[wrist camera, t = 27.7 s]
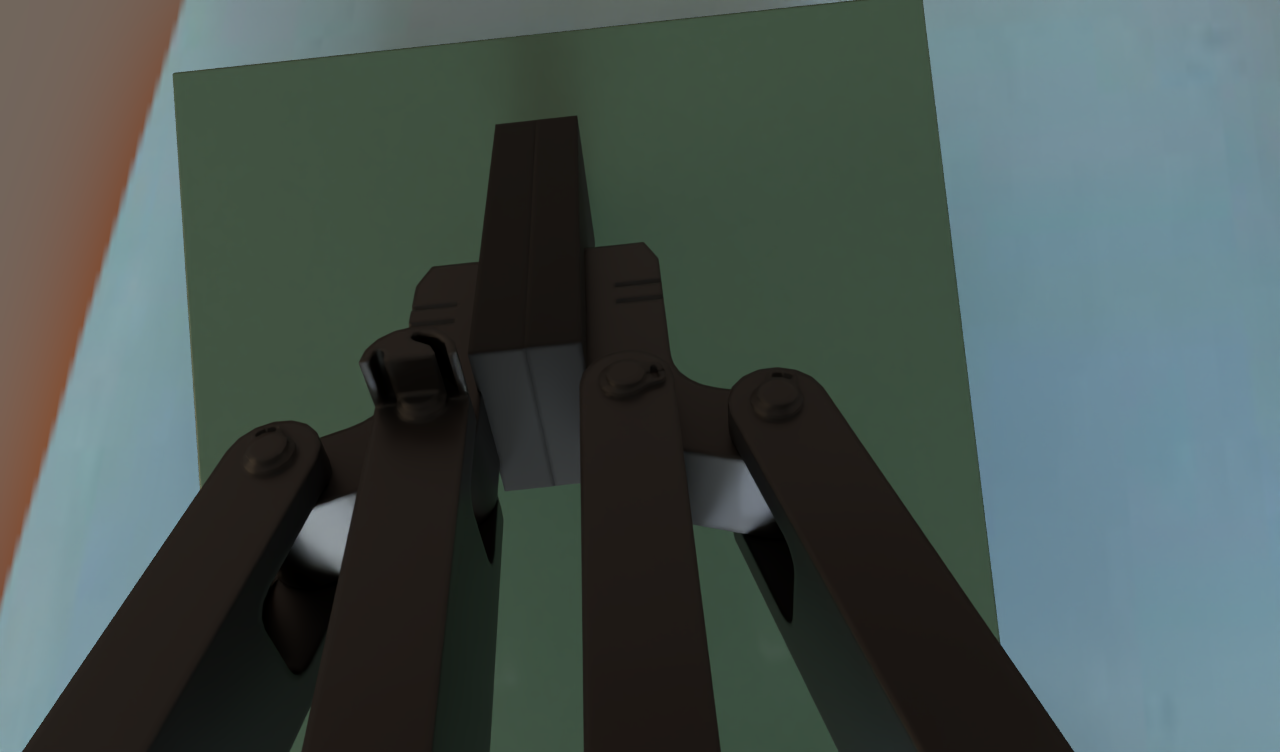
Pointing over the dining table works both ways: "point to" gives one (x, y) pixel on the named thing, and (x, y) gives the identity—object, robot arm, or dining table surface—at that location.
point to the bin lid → (621, 214)
